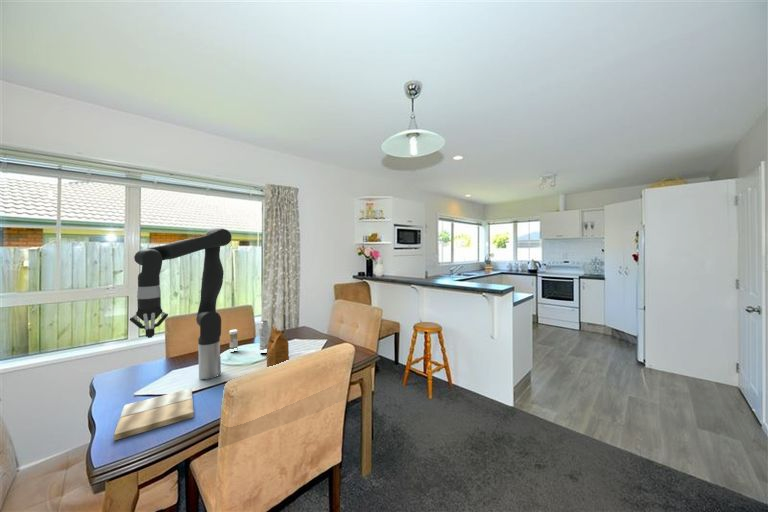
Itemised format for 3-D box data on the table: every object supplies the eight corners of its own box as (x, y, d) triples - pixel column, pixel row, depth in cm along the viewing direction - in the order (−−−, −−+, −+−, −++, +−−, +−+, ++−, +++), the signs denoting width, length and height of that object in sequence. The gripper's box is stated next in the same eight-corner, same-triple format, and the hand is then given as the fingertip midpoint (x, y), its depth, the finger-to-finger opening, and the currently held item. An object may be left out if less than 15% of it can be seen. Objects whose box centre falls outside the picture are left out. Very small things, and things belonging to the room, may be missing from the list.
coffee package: (282, 362, 157) (282, 324, 156) (291, 370, 147) (290, 329, 147) (264, 367, 150) (263, 327, 150) (271, 375, 141) (271, 332, 140)
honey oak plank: (192, 403, 116) (192, 398, 116) (193, 417, 106) (193, 411, 106) (120, 423, 102) (120, 417, 102) (113, 440, 93) (113, 434, 93)
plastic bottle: (273, 352, 173) (272, 320, 172) (265, 356, 166) (264, 323, 166) (264, 351, 175) (264, 319, 174) (256, 354, 169) (256, 322, 168)
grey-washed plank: (191, 392, 124) (191, 388, 124) (192, 402, 116) (192, 398, 116) (124, 409, 111) (124, 404, 111) (120, 422, 103) (120, 417, 103)
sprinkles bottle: (228, 351, 174) (228, 330, 173) (236, 349, 177) (235, 328, 177) (231, 353, 171) (231, 331, 170) (239, 351, 174) (238, 330, 174)
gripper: (169, 293, 124) (170, 332, 124) (129, 296, 116) (130, 338, 117) (168, 296, 118) (169, 336, 118) (126, 299, 110) (127, 342, 111)
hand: (150, 337), depth 117 cm, fingers closed
